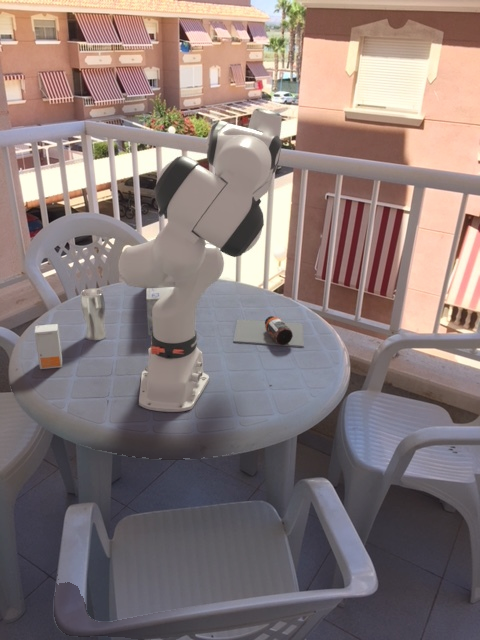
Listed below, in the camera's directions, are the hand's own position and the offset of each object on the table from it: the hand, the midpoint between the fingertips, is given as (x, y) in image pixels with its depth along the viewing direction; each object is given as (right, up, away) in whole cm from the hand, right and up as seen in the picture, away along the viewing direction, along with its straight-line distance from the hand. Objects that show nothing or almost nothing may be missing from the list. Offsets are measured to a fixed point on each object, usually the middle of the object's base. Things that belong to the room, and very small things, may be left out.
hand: (246, 215), depth 150 cm
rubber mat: (+7, -35, +18) cm, 40 cm away
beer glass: (-47, -35, +13) cm, 60 cm away
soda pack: (-28, -26, +32) cm, 50 cm away
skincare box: (-56, -43, -3) cm, 70 cm away
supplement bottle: (+12, -36, +9) cm, 39 cm away
